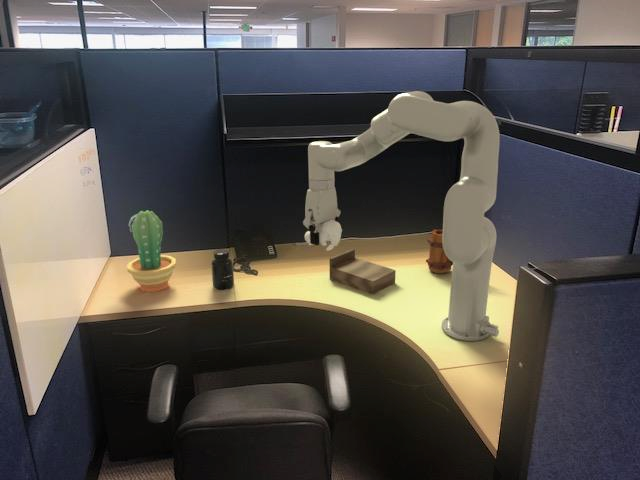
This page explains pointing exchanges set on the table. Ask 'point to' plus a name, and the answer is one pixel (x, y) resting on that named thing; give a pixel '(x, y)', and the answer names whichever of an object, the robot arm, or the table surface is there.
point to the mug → (438, 254)
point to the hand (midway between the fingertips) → (322, 240)
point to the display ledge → (360, 273)
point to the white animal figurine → (327, 234)
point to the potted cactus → (149, 253)
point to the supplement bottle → (222, 270)
